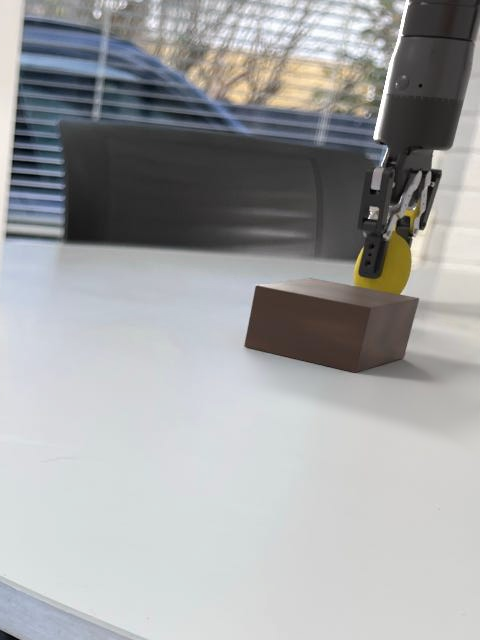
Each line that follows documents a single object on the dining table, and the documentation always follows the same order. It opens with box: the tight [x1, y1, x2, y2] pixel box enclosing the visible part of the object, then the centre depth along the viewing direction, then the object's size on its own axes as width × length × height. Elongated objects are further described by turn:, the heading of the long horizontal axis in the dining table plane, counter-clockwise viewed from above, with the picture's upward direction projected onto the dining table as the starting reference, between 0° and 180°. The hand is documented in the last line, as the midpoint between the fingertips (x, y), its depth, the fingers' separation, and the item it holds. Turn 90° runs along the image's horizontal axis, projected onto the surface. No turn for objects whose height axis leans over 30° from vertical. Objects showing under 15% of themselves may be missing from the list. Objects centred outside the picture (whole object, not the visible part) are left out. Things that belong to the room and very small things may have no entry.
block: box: [243, 277, 420, 373], centre depth 88 cm, size 10×10×5 cm
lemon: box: [353, 230, 413, 295], centre depth 110 cm, size 6×6×8 cm
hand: (381, 275), depth 110 cm, fingers closed on lemon, 5 cm apart
